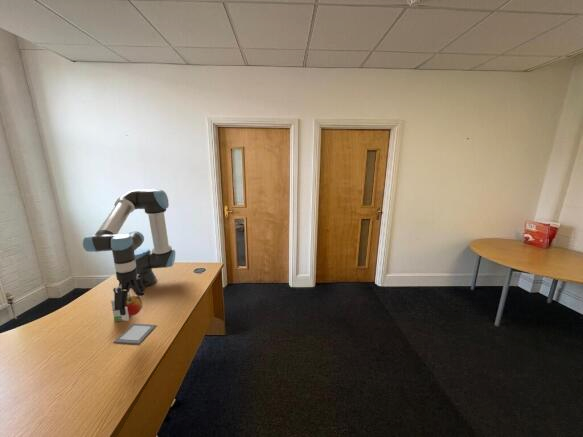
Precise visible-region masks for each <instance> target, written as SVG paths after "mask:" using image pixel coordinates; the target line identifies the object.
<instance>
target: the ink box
mask: <svg viewBox="0 0 583 437" xmlns="http://www.w3.org/2000/svg"><path fill="white" fill-rule="evenodd" d="M129 296H130V297H131V296H132V295H131V292H130V291H129V292H128V296H127V298H128V297H129ZM110 304H111V308H112V315H113V321H114V322H118V321H120V322H121V321H123V320H122V316H121V315H120V310H115V309H114V298H112V299H111V301H110Z"/></svg>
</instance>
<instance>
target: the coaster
mask: <svg viewBox="0 0 583 437" xmlns="http://www.w3.org/2000/svg"><path fill="white" fill-rule="evenodd" d="M156 327H157V325H156V324H148V323H147V324H146V323H132V324H131V325H130V326H129V327H127V328H126V329H125V331H124V332H122V333H121V334H120V335H119V336H118V337H117V338H116V339H114V341H113V343H115V344H126V345H127V344H128V345H129V344H130V345H140V344H141V343H142V342H143V341H144V340H145V339H146V338H147V337H148V336H149V334H151V333H152V332H153V330H154V329H155V328H156Z"/></svg>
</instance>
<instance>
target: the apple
mask: <svg viewBox="0 0 583 437" xmlns="http://www.w3.org/2000/svg"><path fill="white" fill-rule="evenodd" d="M130 296H131V297H130ZM130 296H129V297H128V298H127V302H126V307H127V308H128V315H129V317H132V316H136V315H137V314H138V313H140V311H141V310H142V309H143V308H142V303H143V299H142V300H141V298H139V297H137V296H136V295H130Z"/></svg>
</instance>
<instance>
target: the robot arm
mask: <svg viewBox="0 0 583 437" xmlns="http://www.w3.org/2000/svg"><path fill="white" fill-rule="evenodd" d="M169 205H170V204H169V198H168V195H167V193H166V191H164V190H163V189H162V190H161V189H133V190H129V191H128V192H125V193H123V194H121V196H119V197H118V198H117V199H116V201H115V203H114V207H113V209H112V210H111V212H110V213H109V214H108V216H107V217H106V218H105V219H104V221H103V223H102V224H101V226H100V227H99V228H98V230H97V231H96V233H95V234H91V235H87V236H85V237H84V238H83V240H82V247H83V249H84V250H85V251H86V252H90V253H92V252H94V253H95V252H96V253H97V252H98V253H99V252H110V251H111V252H112V258H113V263H114V269H115V270H114V271H115V276H116V280H117V281H118V282H119V283H118V286H117V287H114V288H113V289H112V291H113V293H114V309H115V310H120V315H121V316H122V320H121V321H127V322H129V321H130V316H129V315H128V308H127V307H126V302H127V296H128V292H130V290H132V291H133V293H134V294H135V296H137V297H139V298H141V300H142V301H143V296H144V295H145V292H146V289H145V288H147V287H151V286H152V285H154V284H156V282H157V276H156V275H155V273H154V271H153V269H163V268H165V269H167V268H172V267H173V266H174V264H175V261H176V250H175V249H173V248H172V246H171V245H169V239H168V238H169V237H168V233H167V225H166V224H167V223H166V218H165V213H166V211H167V209H168V208H169ZM136 210H144V214H146V215H148V221H149V226H150V233H151V238H152V244H153V248H152V250H150V249H149V248H140V247H141V246H142V244H143V243H144V241H145V236H144V234H143V233H142V232H139V231H137V230H136V231H131V232H129V233H120V230H121V229H122V228H123V226H124V223H125V222H126V220H127V219H128V217H129V215H130V214H132V213H133V212H134V211H136ZM118 233H120V234H118ZM139 248H140V249H139ZM137 249H138V250H137ZM143 304H144V303H143V302H142V308H141V309H143V308H144V305H143Z"/></svg>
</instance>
